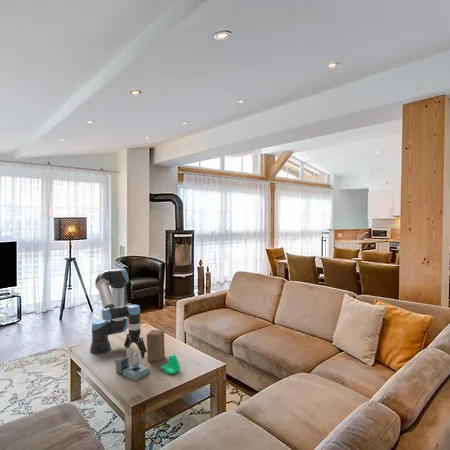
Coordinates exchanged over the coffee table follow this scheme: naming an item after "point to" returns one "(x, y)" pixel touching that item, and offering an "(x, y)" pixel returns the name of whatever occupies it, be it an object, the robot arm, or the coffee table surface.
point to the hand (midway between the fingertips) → (135, 359)
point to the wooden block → (155, 345)
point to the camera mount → (171, 365)
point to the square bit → (121, 364)
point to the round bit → (135, 361)
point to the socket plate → (135, 372)
